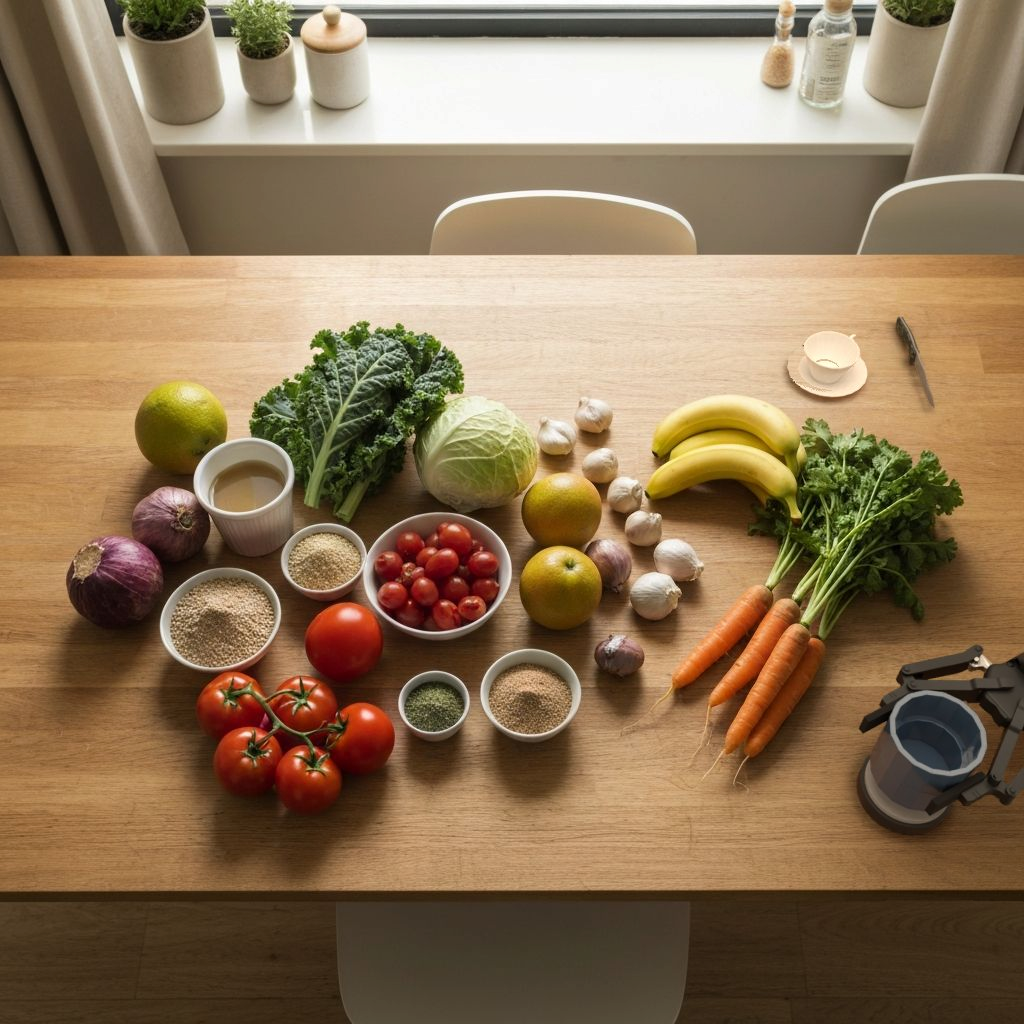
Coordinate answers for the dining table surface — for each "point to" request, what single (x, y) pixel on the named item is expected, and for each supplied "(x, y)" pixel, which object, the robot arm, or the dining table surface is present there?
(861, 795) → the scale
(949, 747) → the cup
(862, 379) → the teacup
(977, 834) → the dining table surface
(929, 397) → the knife
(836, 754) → the dining table surface
